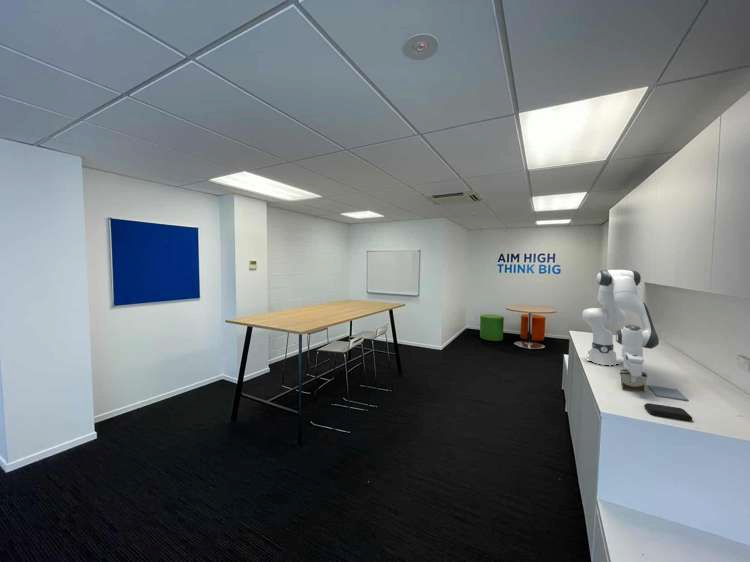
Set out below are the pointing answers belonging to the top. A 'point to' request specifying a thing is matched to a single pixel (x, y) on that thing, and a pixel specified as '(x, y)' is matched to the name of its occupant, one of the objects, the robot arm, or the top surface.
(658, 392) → the slate mat
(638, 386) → the food container
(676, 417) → the carrying case or bag
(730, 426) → the top surface
